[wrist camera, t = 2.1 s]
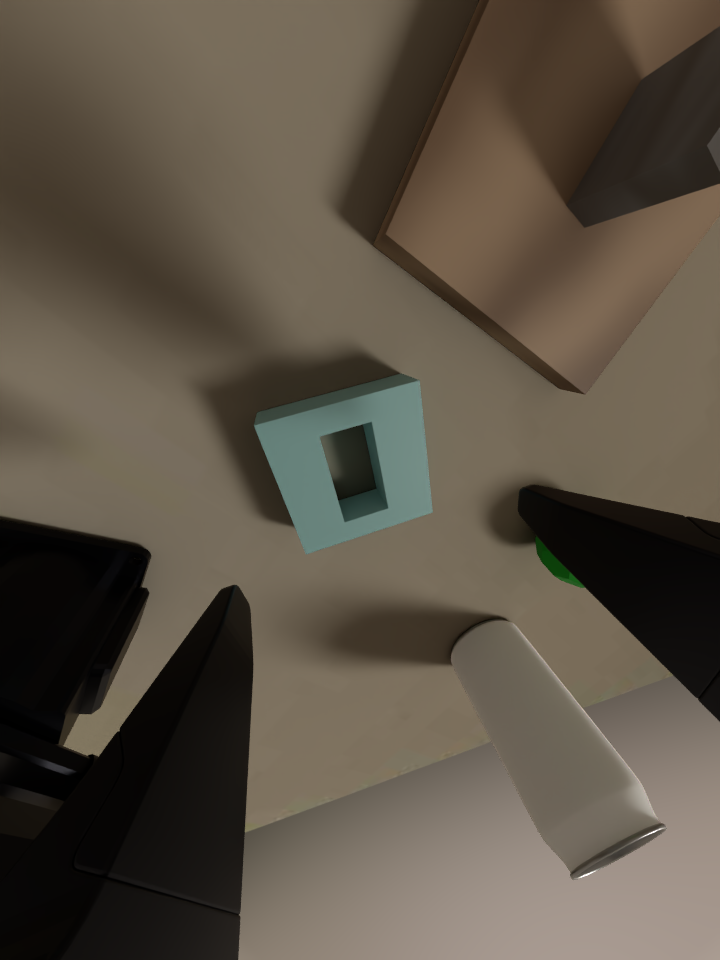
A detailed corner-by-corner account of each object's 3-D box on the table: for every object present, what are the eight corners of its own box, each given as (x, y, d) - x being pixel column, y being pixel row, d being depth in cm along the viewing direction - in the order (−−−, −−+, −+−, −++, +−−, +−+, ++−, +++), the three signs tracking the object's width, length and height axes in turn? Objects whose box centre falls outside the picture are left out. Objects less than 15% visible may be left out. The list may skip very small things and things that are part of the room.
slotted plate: (303, 529, 16) (306, 554, 14) (257, 412, 13) (254, 425, 11) (416, 493, 17) (432, 512, 15) (401, 373, 13) (419, 380, 12)
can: (434, 653, 25) (547, 889, 14) (494, 605, 24) (664, 822, 13) (470, 673, 28) (585, 878, 17) (525, 631, 27) (682, 824, 16)
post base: (372, 245, 11) (445, 181, 6) (602, -282, 7) (1220, -1445, 2) (560, 388, 16) (681, 415, 11) (753, 118, 12) (1061, -18, 7)
